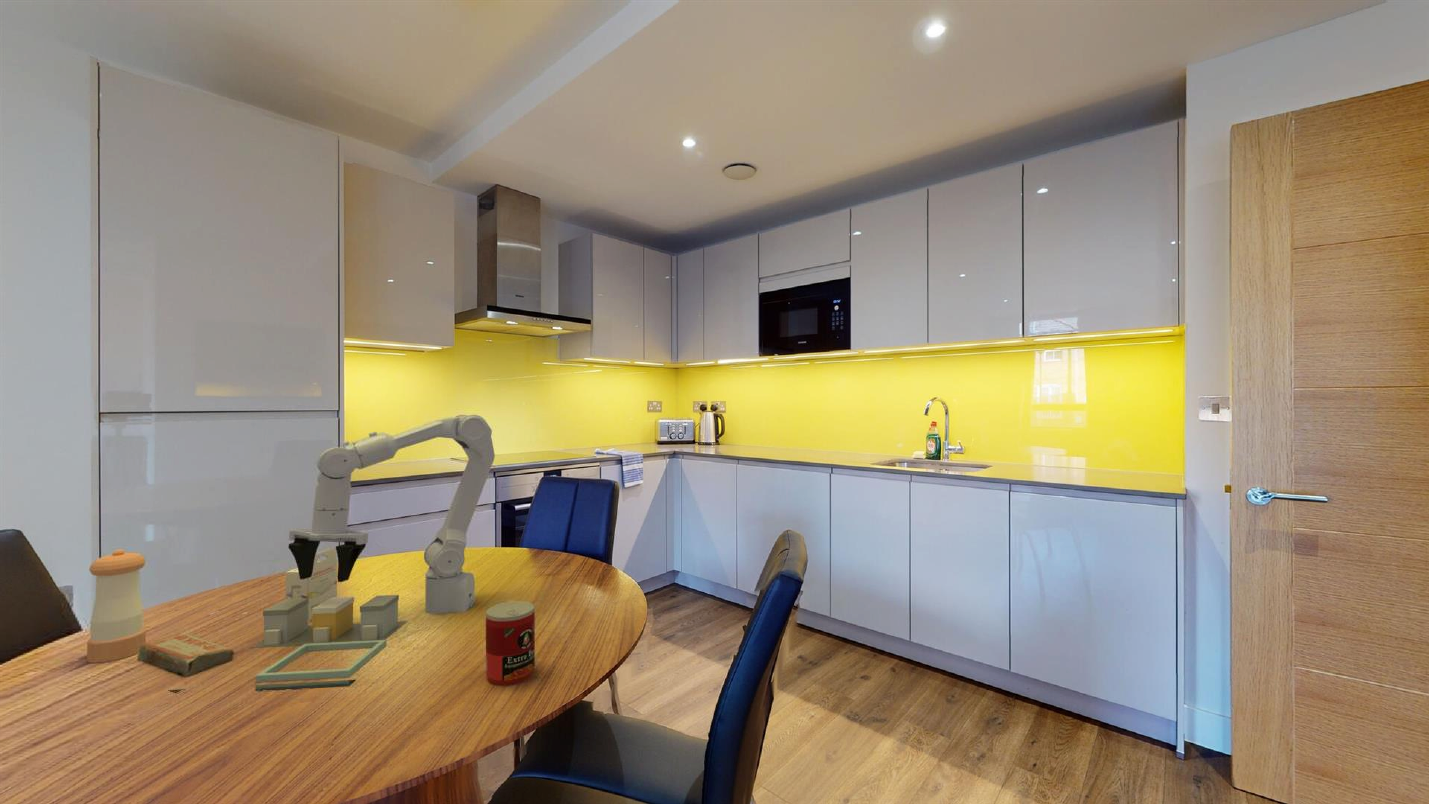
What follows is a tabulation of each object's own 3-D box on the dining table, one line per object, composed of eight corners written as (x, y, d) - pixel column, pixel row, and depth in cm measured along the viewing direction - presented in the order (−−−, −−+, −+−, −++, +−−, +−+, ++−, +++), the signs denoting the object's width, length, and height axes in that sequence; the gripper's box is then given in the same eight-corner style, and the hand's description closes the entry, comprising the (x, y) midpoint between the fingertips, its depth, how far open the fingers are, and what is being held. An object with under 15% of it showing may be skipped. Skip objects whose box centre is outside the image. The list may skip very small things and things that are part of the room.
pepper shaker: (132, 643, 105) (133, 544, 106) (154, 648, 103) (155, 546, 103) (77, 659, 98) (79, 553, 99) (100, 665, 96) (102, 556, 96)
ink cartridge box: (315, 613, 120) (316, 546, 121) (337, 613, 120) (338, 546, 121) (284, 628, 112) (284, 557, 112) (308, 628, 112) (308, 556, 112)
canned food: (506, 690, 86) (506, 620, 86) (475, 678, 90) (475, 611, 90) (545, 671, 92) (544, 605, 93) (514, 660, 97) (514, 597, 97)
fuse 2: (398, 624, 109) (398, 594, 110) (383, 637, 103) (383, 605, 103) (376, 625, 109) (376, 595, 109) (359, 638, 103) (359, 606, 103)
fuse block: (407, 628, 111) (407, 608, 111) (383, 649, 101) (383, 627, 102) (287, 634, 109) (287, 613, 109) (249, 656, 99) (250, 634, 99)
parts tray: (386, 653, 100) (386, 639, 100) (349, 686, 88) (349, 670, 88) (304, 657, 98) (304, 643, 98) (255, 691, 86) (255, 675, 86)
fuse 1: (308, 628, 108) (308, 598, 108) (287, 642, 102) (287, 609, 102) (285, 630, 107) (285, 599, 107) (262, 643, 101) (263, 610, 101)
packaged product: (122, 646, 93) (196, 626, 102) (121, 675, 93) (196, 652, 102) (174, 666, 86) (249, 642, 95) (174, 697, 86) (249, 670, 95)
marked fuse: (353, 626, 109) (354, 596, 109) (335, 639, 102) (335, 607, 103) (331, 627, 108) (331, 597, 108) (311, 640, 102) (311, 608, 102)
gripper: (279, 509, 103) (271, 582, 102) (352, 513, 102) (345, 587, 101) (308, 504, 110) (301, 573, 109) (377, 509, 109) (371, 577, 108)
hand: (324, 579), depth 106 cm, fingers open, 7 cm apart
